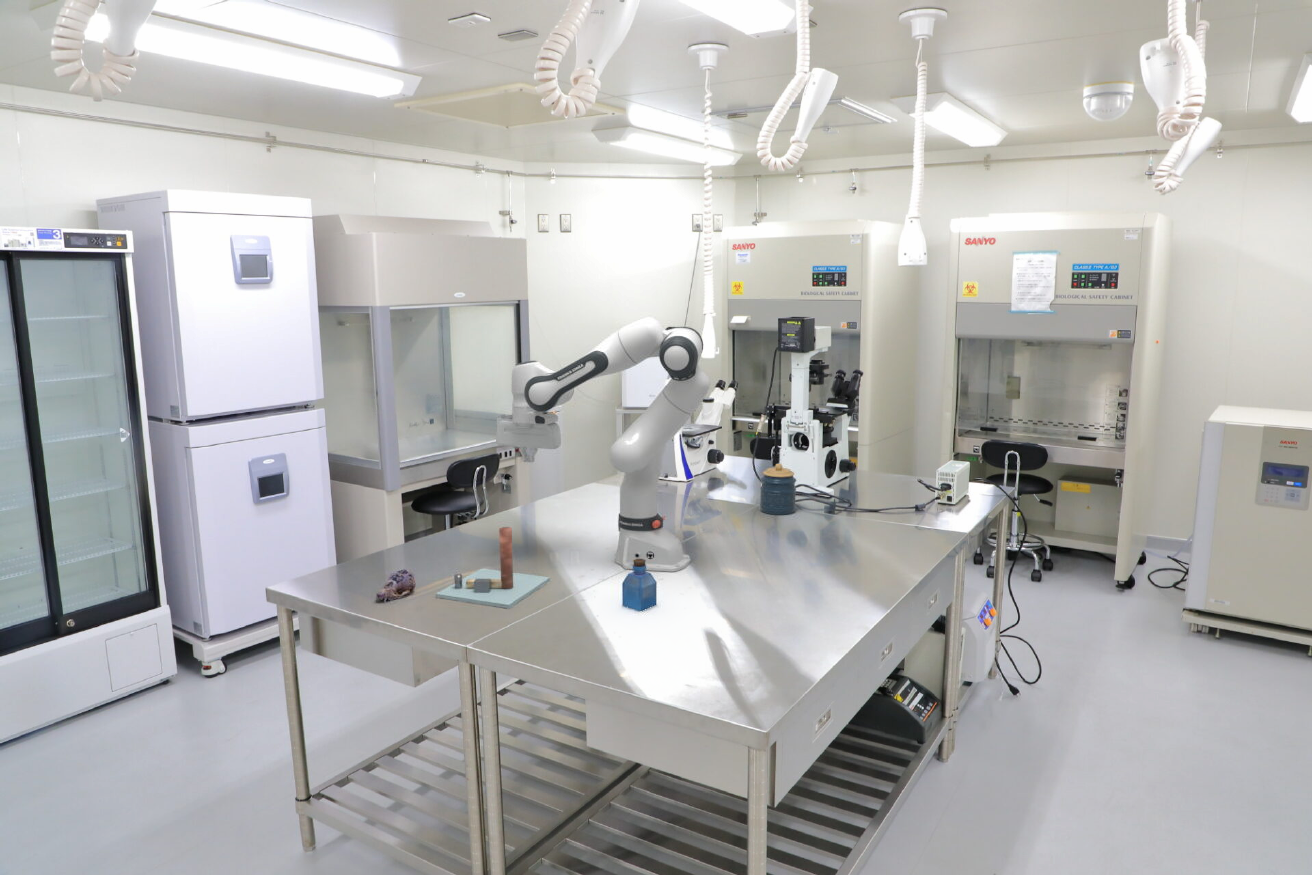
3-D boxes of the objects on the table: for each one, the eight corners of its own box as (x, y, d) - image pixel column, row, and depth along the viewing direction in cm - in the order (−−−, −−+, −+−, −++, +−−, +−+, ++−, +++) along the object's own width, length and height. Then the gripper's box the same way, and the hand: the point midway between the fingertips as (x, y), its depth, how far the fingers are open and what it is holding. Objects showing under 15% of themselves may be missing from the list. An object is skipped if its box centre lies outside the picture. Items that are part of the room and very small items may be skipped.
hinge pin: (464, 590, 228) (463, 574, 228) (459, 592, 227) (459, 576, 226) (457, 589, 229) (457, 573, 228) (453, 591, 227) (452, 575, 226)
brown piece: (465, 588, 226) (463, 530, 223) (468, 584, 229) (465, 527, 226) (512, 588, 226) (510, 530, 223) (514, 584, 229) (512, 527, 227)
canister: (752, 508, 314) (754, 461, 310) (782, 504, 319) (783, 458, 316) (772, 517, 302) (773, 468, 299) (802, 513, 307) (804, 465, 304)
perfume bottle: (638, 599, 222) (638, 555, 220) (656, 604, 218) (656, 560, 216) (622, 606, 218) (622, 561, 216) (640, 611, 214) (640, 566, 212)
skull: (385, 605, 218) (384, 582, 217) (366, 599, 222) (364, 577, 221) (421, 592, 228) (420, 570, 227) (402, 586, 232) (401, 564, 231)
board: (550, 580, 236) (549, 577, 236) (509, 608, 216) (509, 604, 215) (481, 571, 244) (481, 568, 243) (436, 597, 223) (435, 593, 223)
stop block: (491, 589, 226) (490, 578, 226) (489, 592, 224) (489, 581, 224) (476, 589, 226) (475, 578, 226) (474, 592, 224) (473, 581, 224)
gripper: (491, 415, 251) (492, 461, 254) (552, 419, 244) (553, 466, 247) (502, 412, 257) (503, 457, 260) (562, 416, 250) (563, 462, 252)
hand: (528, 461), depth 253 cm, fingers closed
